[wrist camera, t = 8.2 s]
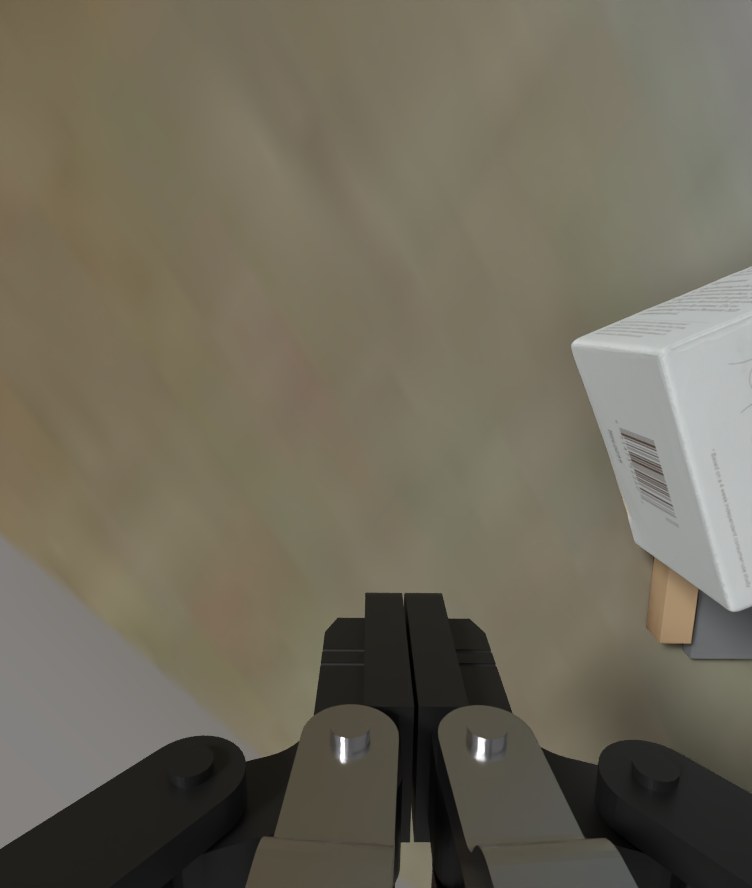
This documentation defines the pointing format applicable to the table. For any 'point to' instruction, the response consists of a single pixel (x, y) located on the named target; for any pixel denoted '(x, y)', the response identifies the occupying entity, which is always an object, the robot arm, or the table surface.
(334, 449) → the table surface
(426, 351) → the table surface
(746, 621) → the rubber mat
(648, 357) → the small box
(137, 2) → the table surface
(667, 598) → the oak ledge
